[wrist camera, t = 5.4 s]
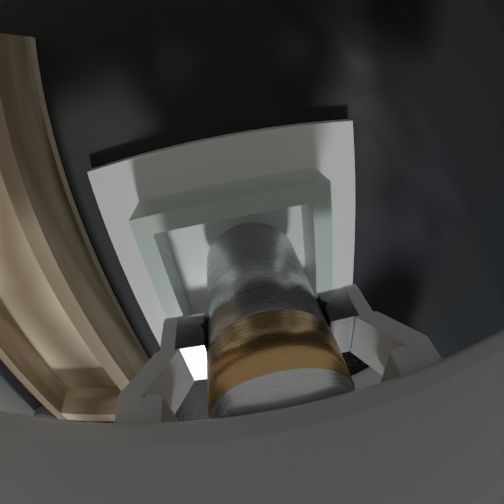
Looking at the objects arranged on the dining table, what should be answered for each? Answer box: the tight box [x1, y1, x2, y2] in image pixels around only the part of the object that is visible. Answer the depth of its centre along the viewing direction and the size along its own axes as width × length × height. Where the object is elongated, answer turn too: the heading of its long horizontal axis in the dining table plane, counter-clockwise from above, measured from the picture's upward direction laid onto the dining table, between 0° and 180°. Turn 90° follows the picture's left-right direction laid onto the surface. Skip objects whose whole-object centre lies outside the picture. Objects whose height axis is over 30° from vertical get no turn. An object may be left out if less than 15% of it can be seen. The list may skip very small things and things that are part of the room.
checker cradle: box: [87, 119, 355, 346], centre depth 14 cm, size 12×12×3 cm
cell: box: [207, 222, 355, 419], centre depth 10 cm, size 4×4×8 cm
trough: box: [0, 33, 150, 421], centre depth 13 cm, size 9×23×4 cm, turn 8°
